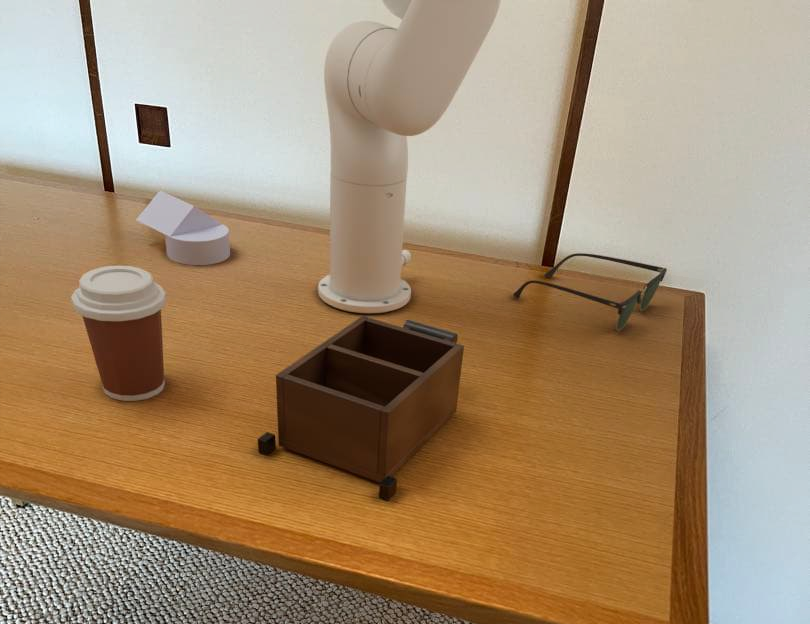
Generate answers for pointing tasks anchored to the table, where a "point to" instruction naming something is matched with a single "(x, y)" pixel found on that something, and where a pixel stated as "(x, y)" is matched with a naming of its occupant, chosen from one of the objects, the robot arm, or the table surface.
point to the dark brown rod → (386, 486)
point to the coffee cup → (124, 329)
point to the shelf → (370, 395)
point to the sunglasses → (623, 308)
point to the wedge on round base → (187, 231)
